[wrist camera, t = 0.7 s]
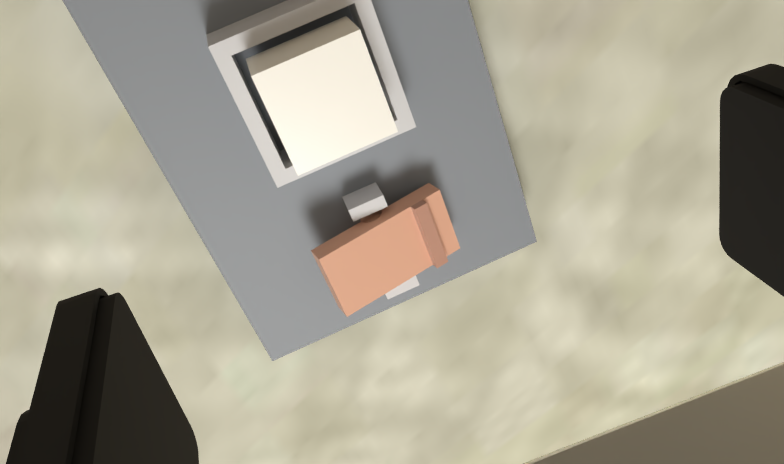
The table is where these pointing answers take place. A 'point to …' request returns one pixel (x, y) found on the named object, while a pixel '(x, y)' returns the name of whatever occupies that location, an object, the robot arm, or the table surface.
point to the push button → (322, 94)
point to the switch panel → (329, 181)
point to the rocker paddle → (387, 249)
